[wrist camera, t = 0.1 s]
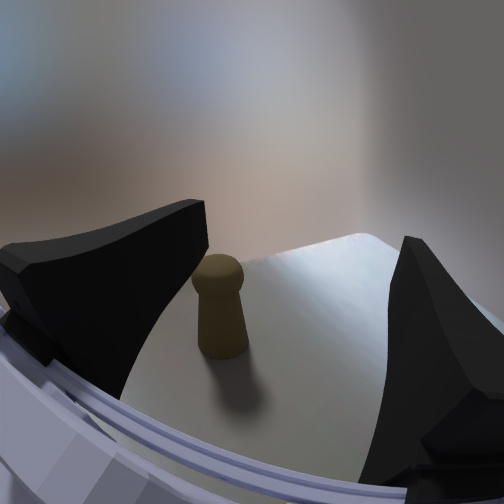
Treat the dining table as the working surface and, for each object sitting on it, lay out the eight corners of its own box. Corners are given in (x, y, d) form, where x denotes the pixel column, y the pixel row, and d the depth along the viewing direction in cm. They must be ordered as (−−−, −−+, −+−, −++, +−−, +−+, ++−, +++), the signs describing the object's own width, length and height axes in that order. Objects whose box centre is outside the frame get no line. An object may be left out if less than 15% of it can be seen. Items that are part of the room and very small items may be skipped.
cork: (202, 363, 32) (189, 284, 26) (194, 327, 37) (182, 250, 31) (254, 353, 33) (255, 273, 27) (240, 318, 38) (239, 242, 32)
